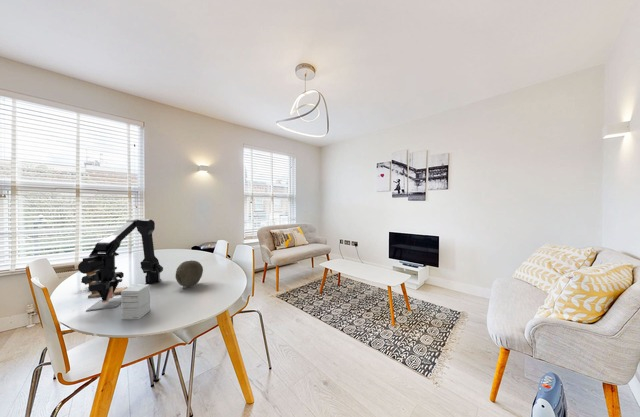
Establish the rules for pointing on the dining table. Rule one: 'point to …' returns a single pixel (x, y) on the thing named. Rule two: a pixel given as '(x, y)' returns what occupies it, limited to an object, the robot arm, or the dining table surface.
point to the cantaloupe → (189, 273)
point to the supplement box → (135, 301)
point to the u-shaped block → (109, 295)
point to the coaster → (105, 304)
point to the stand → (116, 292)
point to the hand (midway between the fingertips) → (107, 298)
